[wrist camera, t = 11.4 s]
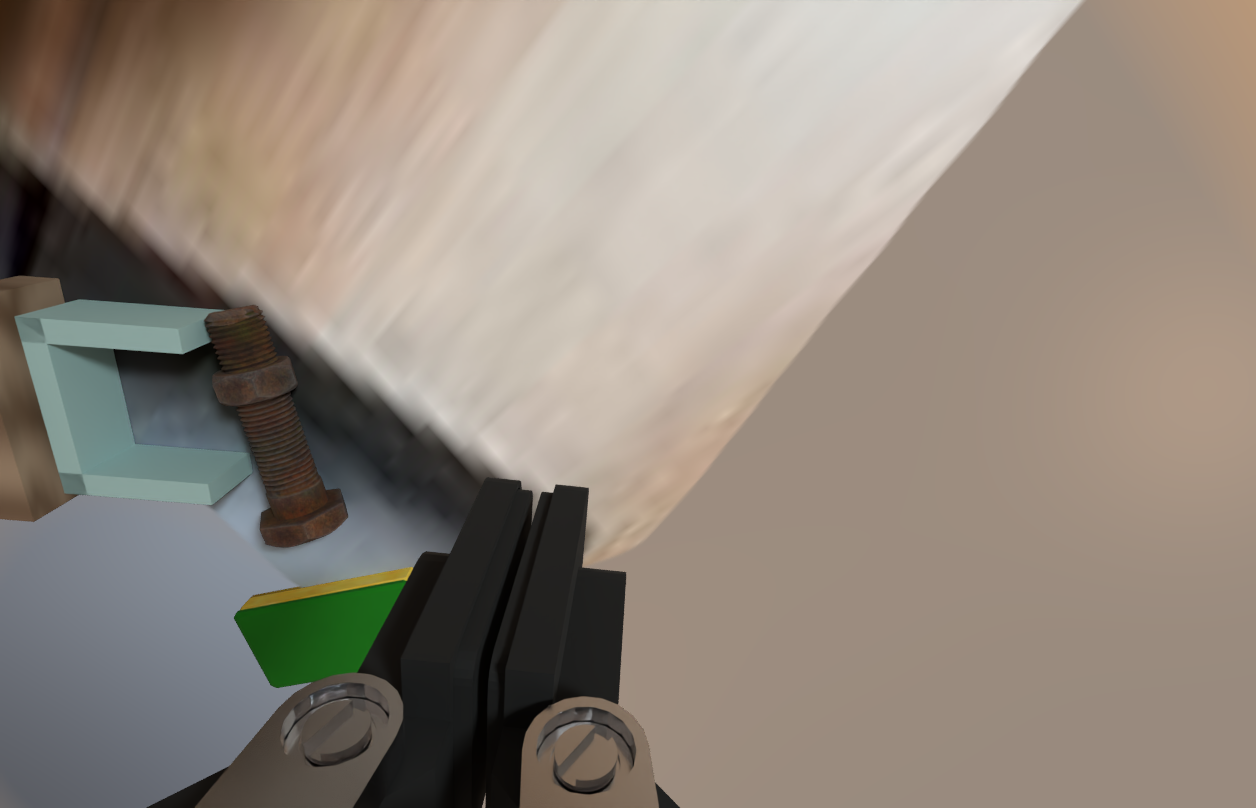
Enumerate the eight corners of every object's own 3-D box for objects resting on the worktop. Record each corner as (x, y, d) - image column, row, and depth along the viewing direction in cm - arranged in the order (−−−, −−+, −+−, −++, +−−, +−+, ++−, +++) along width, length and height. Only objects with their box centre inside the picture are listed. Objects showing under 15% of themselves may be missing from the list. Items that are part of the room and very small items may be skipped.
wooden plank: (19, 275, 41) (-80, 296, 36) (58, 278, 41) (-35, 299, 36) (74, 473, 47) (-6, 518, 41) (109, 476, 47) (34, 521, 41)
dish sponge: (250, 594, 50) (230, 615, 48) (417, 562, 49) (406, 582, 46) (288, 666, 53) (271, 689, 51) (449, 639, 51) (439, 661, 49)
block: (78, 299, 42) (14, 316, 38) (226, 310, 42) (177, 328, 38) (118, 461, 46) (64, 493, 42) (252, 472, 46) (211, 505, 42)
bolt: (277, 296, 43) (344, 499, 48) (189, 313, 41) (269, 524, 46) (275, 304, 38) (351, 530, 43) (176, 324, 36) (267, 559, 41)
